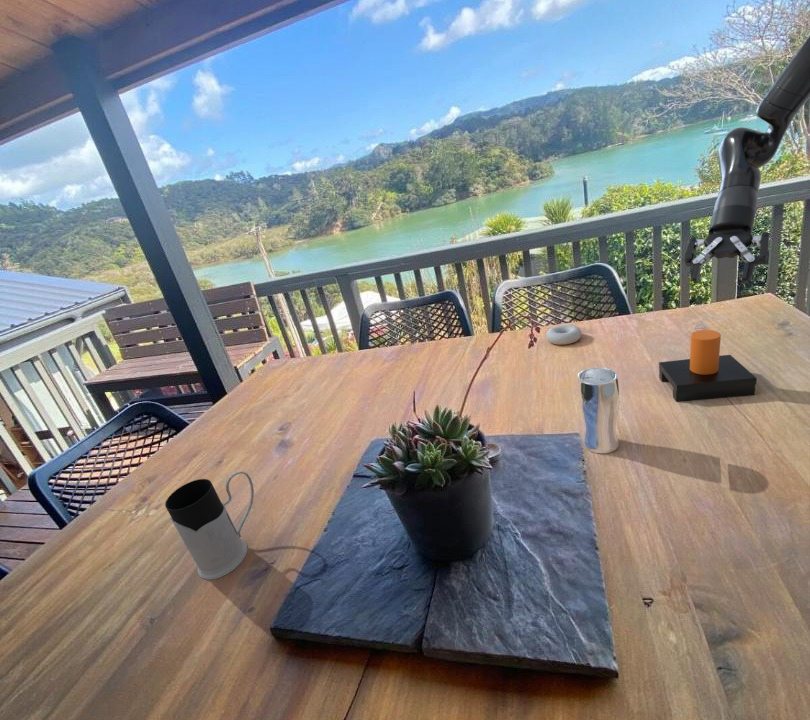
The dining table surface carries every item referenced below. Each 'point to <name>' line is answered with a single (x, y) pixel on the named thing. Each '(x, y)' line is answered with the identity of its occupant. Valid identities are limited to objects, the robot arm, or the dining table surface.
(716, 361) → the candle
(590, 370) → the silver metal tumbler
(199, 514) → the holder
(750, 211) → the robot arm
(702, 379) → the black display riser
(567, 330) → the donut
